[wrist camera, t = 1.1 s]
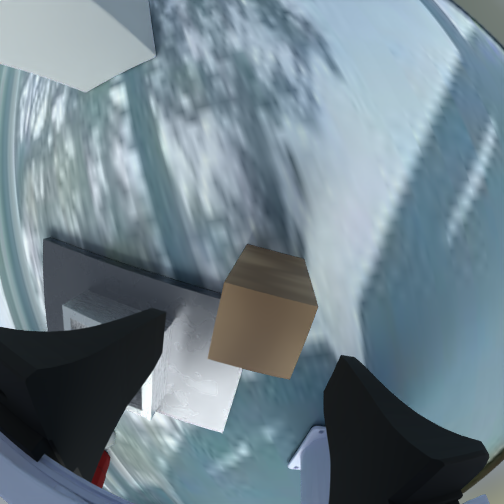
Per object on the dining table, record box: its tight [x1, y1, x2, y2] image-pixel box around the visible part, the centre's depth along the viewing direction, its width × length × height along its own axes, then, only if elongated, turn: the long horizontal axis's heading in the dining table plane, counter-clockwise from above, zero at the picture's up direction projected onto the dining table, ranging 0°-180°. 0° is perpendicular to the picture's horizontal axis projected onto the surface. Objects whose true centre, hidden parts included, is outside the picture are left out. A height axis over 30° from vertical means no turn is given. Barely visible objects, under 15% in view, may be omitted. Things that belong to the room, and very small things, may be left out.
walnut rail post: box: [207, 244, 318, 380], centre depth 16 cm, size 4×4×8 cm
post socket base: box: [43, 237, 242, 433], centre depth 20 cm, size 20×14×4 cm
